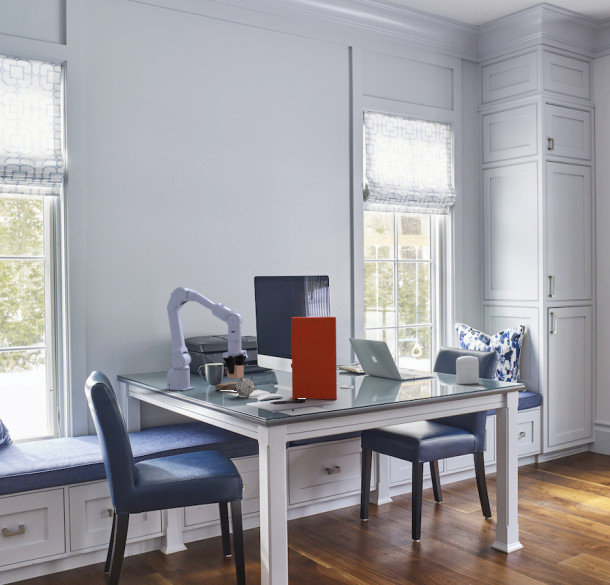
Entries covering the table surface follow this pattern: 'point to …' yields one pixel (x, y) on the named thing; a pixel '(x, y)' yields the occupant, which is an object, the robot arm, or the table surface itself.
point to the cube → (236, 372)
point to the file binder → (314, 358)
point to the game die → (245, 387)
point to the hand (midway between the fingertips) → (235, 373)
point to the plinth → (227, 386)
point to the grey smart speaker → (467, 370)
